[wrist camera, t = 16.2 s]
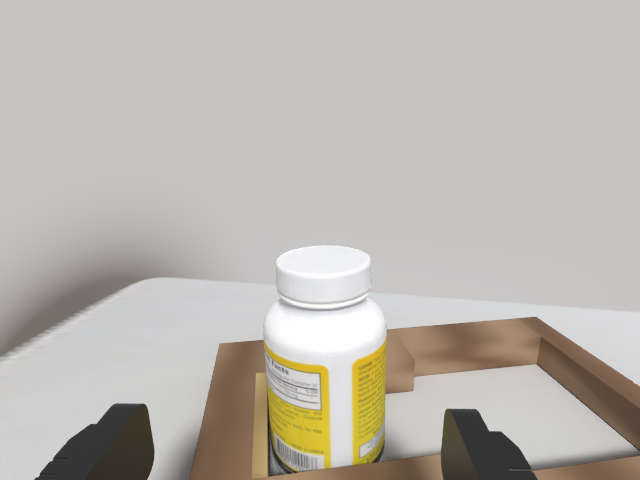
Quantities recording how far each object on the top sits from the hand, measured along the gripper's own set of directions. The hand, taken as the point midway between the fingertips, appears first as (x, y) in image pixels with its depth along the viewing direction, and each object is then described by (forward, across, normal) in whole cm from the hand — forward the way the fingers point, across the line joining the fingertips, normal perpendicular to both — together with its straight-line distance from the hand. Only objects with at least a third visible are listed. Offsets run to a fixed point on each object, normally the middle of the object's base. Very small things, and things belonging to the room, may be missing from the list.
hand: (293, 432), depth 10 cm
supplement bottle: (+7, -1, +7) cm, 10 cm away
